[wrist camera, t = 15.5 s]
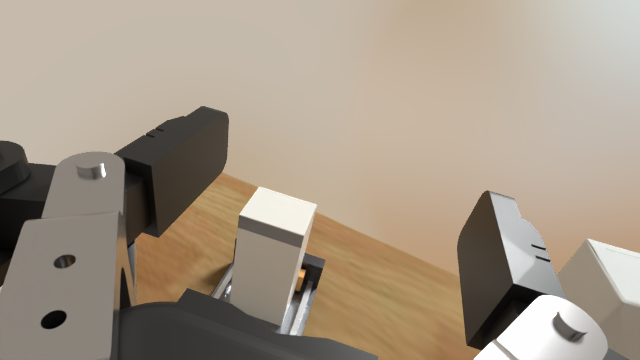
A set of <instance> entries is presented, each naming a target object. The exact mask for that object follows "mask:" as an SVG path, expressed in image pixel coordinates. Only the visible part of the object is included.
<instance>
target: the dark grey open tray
mask: <svg viewBox="0 0 640 360" xmlns="http://www.w3.org/2000/svg"><path fill="white" fill-rule="evenodd" d="M236 240H237V238H236ZM236 240H235V249H236ZM235 249H234V258H235ZM324 263H325V260H324V259H321V258H318V257H315V256H312V255H309V254H306V253H304V257H303V261H302V265H301V269H303V270H306V272H305V276H304V279H303V283H302V286H301V289H300V291H296V290H295V292H294V294H293V297H292V300H291V302H290V305H289V308H288V310H287V313H286V316H285V318H284V321H283V324H282V326H279V325H276V324H273V323H270V322H268V321H265V320H262V319H259V318H256V317H253V316H250V315H249V316H250V317H252V318H253V319H255V320H256V321H258V322H259V323H261V324H262V325H264V326H265V327H267V328H268V329H269V330H271V331H273V332H275V333H279V334H288V335H297V336H302V333H303V330H304V327H305V324H306V321H307V318H308V314H309V311H310V308H311V305H312V302H313V298H314V295H315V292H316V289H317V286H318V283H319V279H320V276H321V273H322V270H323V266H324ZM233 267H234V259H233V262H232V263H231V265H230V266H229V268H228V270H227V271H226V273H225V274H224V276H223V278H222V279H221V281H220V282H219V284H218V285H217V287H216V289H215V290H214V292H213V293H212V295H211V297H214V298H216V299H219V300H222V301H225V302H228V303H230V294H231V285H232V276H233ZM247 315H248V314H247Z"/></svg>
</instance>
